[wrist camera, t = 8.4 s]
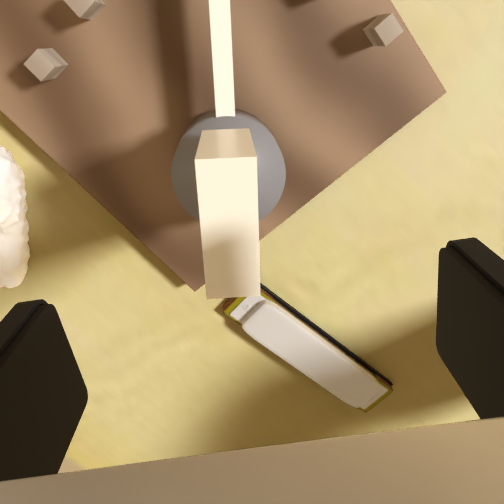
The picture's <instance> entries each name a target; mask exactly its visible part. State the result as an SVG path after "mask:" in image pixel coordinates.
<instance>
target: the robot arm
mask: <svg viewBox="0 0 504 504" xmlns="http://www.w3.org/2000/svg"><path fill="white" fill-rule="evenodd" d="M436 346H437V350H438V353H439V355H440V357H441V359H442V360H443V362H444V363H445V365H446V366H447V368H448V370H449V371H450V373H451V374H452V376H453V377H454V379H455V380H456V382H457V383H458V385H459V386H460V388H461V390H462V391H463V393H464V394H465V396H466V397H467V399H468V400H469V402H470V403H471V405H472V406H473V408H474V410H475V411H476V413H477V414H478V416H479V417H480V420H471V421H463V422H455V423H447V424H439V425H431V426H423V427H415V428H407V429H398V430H390V431H382V432H374V433H366V434H358V435H350V436H342V437H334V438H326V439H319V440H311V441H303V442H295V443H287V444H279V445H271V446H264V447H256V448H248V449H240V450H232V451H225V452H217V453H209V454H202V455H194V456H187V457H179V458H171V459H164V460H156V461H149V462H141V463H133V464H126V465H118V466H110V467H103V468H95V469H88V470H81V471H74V472H67V473H59V474H57V473H58V471H59V469H60V466H61V464H62V461H63V459H64V457H65V454H66V452H67V450H68V447H69V445H70V442H71V440H72V438H73V435H74V433H75V431H76V428H77V426H78V423H79V421H80V419H81V416H82V414H83V412H84V409H85V407H86V404H87V400H88V393H87V388H86V386H85V383H84V380H83V378H82V375H81V373H80V370H79V367H78V365H77V362H76V360H75V357H74V355H73V352H72V349H71V347H70V344H69V342H68V339H67V336H66V334H65V331H64V329H63V326H62V324H61V321H60V318H59V316H58V313H57V311H56V308H55V307H54V306H53V305H52V304H48V303H47V302H46V301H45V300H43V299H41V300H34V301H27V302H20V303H17V304H16V305H15V306H14V307H13V308H12V309H11V310H10V311H9V313H8V314H7V315H6V316H5V317H4V318H3V320H2V321H1V322H0V504H504V260H503V259H501V258H500V257H499V256H498V255H497V254H495V253H494V252H493V251H492V250H490V249H489V248H488V247H487V246H485V245H484V244H483V243H482V242H480V241H479V240H478V239H476V238H467V239H460V240H453V241H449V242H448V243H447V245H446V248H441V249H440V252H439V268H438V298H437V327H436Z"/></svg>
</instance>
